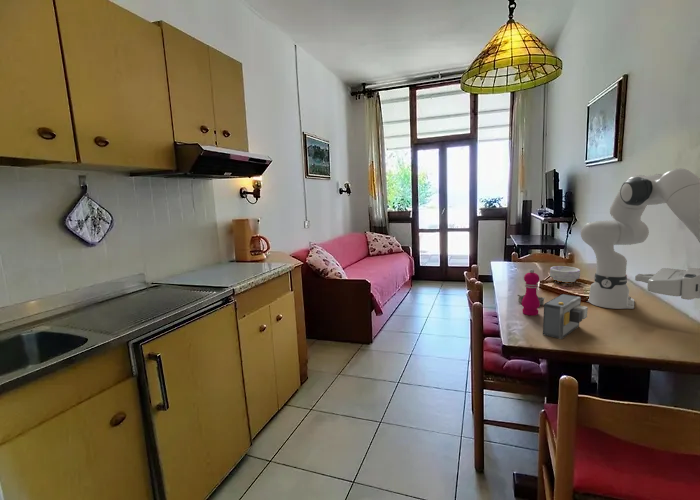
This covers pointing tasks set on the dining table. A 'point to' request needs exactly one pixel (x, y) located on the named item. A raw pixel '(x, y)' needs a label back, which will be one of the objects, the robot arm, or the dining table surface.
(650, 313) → the dining table surface
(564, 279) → the paper bowls
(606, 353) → the dining table surface
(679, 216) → the robot arm
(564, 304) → the console
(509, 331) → the dining table surface
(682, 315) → the dining table surface
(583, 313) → the white button
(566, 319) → the amber button
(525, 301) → the pepper mill
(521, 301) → the egg carton
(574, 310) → the black button
